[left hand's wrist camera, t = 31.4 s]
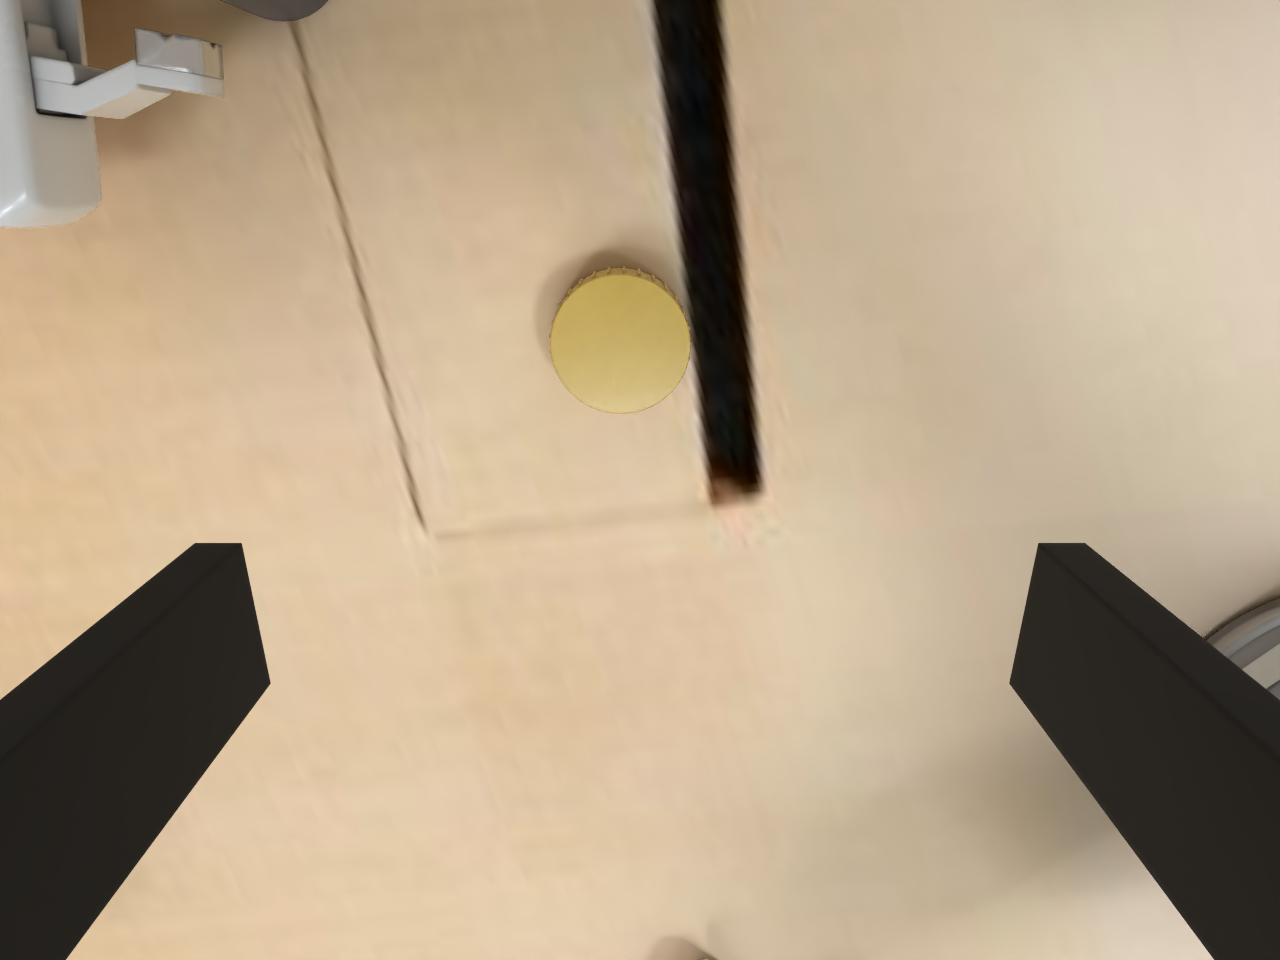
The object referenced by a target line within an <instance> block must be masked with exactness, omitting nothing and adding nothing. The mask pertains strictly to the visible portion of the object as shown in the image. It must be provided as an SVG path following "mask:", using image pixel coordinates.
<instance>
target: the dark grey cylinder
mask: <svg viewBox="0 0 1280 960" xmlns="http://www.w3.org/2000/svg"><path fill="white" fill-rule="evenodd" d="M221 1H224V2H226V3H228V4H231V5H233V6H235V7H238V8H240V9H243V10H245V11H247V12H250V13H252V14H254V15H257V16H260V17H262V18H265V19H269V20H274V21H293V20H297V19H301V18H304V17H306V16H309V15H311V14H312V13H314V12H316V11H317V10H318V9H320V8H321V7H322V6H323V5H324V4H325V3H326V2H327V1H328V0H221Z"/></svg>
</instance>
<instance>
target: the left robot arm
mask: <svg viewBox="0 0 1280 960" xmlns="http://www.w3.org/2000/svg"><path fill="white" fill-rule="evenodd" d="M270 684H271V683H270V678H269V673H268V669H267V664H266V659H265V654H264V649H263V644H262V640H261V635H260V630H259V625H258V620H257V615H256V611H255V606H254V601H253V596H252V591H251V586H250V582H249V577H248V572H247V567H246V562H245V557H244V553H243V548H242V543H195V544H193V545H192V546H191V547H190V548H188V549H187V550H186V551H185V552H183V553H182V554H181V555H180V556H179V557H177V558H176V559H175V560H174V561H172V562H171V563H170V564H169V565H167V566H166V567H165V568H164V569H162V570H161V571H160V572H159V573H157V574H156V575H155V576H154V577H152V578H151V579H150V580H149V581H147V582H146V583H145V584H144V585H142V586H141V587H140V588H139V589H137V590H136V591H135V592H134V593H133V594H131V595H130V596H129V597H128V598H126V599H125V600H124V601H123V602H121V603H120V604H119V605H118V606H116V607H115V608H114V609H113V610H111V611H110V612H109V613H108V614H106V615H105V616H104V617H103V618H101V619H100V620H99V621H98V622H96V623H95V624H94V625H93V626H92V627H90V628H89V629H88V630H87V631H85V632H84V633H83V634H82V635H80V636H79V637H78V638H77V639H75V640H74V641H73V642H72V643H70V644H69V645H68V646H67V647H65V648H64V649H63V650H62V651H60V652H59V653H58V654H57V655H55V656H54V657H53V658H52V659H51V660H49V661H48V662H47V663H46V664H44V665H43V666H42V667H41V668H39V669H38V670H37V671H36V672H34V673H33V674H32V675H31V676H29V677H28V678H27V679H26V680H24V681H23V682H22V683H21V684H19V685H18V686H17V687H16V688H14V689H13V690H12V691H11V692H10V693H8V694H7V695H6V696H5V697H3V698H2V699H1V700H0V960H66V959H67V957H68V956H69V955H70V953H71V952H72V951H73V949H74V948H75V947H76V945H77V944H78V942H79V941H80V940H81V938H82V937H83V936H84V934H85V933H86V932H87V930H88V929H89V928H90V926H91V925H92V924H93V922H94V921H95V920H96V918H97V917H98V916H99V914H100V913H101V911H102V910H103V909H104V907H105V906H106V905H107V903H108V902H109V901H110V899H111V898H112V897H113V895H114V894H115V893H116V891H117V890H118V889H119V887H120V886H121V884H122V883H123V882H124V880H125V879H126V878H127V876H128V875H129V874H130V872H131V871H132V870H133V868H134V867H135V866H136V864H137V863H138V862H139V860H140V859H141V858H142V856H143V855H144V853H145V852H146V851H147V849H148V848H149V847H150V845H151V844H152V843H153V841H154V840H155V839H156V837H157V836H158V835H159V833H160V832H161V831H162V829H163V828H164V826H165V825H166V824H167V822H168V821H169V820H170V818H171V817H172V816H173V814H174V813H175V812H176V810H177V809H178V808H179V806H180V805H181V804H182V802H183V801H184V800H185V798H186V797H187V795H188V794H189V793H190V791H191V790H192V789H193V787H194V786H195V785H196V783H197V782H198V781H199V779H200V778H201V777H202V775H203V774H204V773H205V771H206V770H207V768H208V767H209V766H210V764H211V763H212V762H213V760H214V759H215V758H216V756H217V755H218V754H219V752H220V751H221V750H222V748H223V747H224V746H225V744H226V743H227V742H228V740H229V739H230V737H231V736H232V735H233V733H234V732H235V731H236V729H237V728H238V727H239V725H240V724H241V723H242V721H243V720H244V719H245V717H246V716H247V715H248V713H249V712H250V710H251V709H252V708H253V706H254V705H255V704H256V702H257V701H258V700H259V698H260V697H261V696H262V694H263V693H264V692H265V690H266V689H267V688H268V686H269V685H270ZM1009 684H1010V685H1011V686H1012V688H1013V689H1014V690H1015V692H1016V693H1017V694H1018V696H1019V697H1020V698H1021V700H1022V701H1023V702H1024V704H1025V705H1026V706H1027V708H1028V709H1029V710H1030V712H1031V713H1032V715H1033V716H1034V717H1035V719H1036V720H1037V721H1038V723H1039V724H1040V725H1041V727H1042V728H1043V729H1044V731H1045V732H1046V733H1047V735H1048V736H1049V737H1050V739H1051V740H1052V742H1053V743H1054V744H1055V746H1056V747H1057V748H1058V750H1059V751H1060V752H1061V754H1062V755H1063V756H1064V758H1065V759H1066V760H1067V762H1068V763H1069V764H1070V766H1071V767H1072V768H1073V770H1074V771H1075V773H1076V774H1077V775H1078V777H1079V778H1080V779H1081V781H1082V782H1083V783H1084V785H1085V786H1086V787H1087V789H1088V790H1089V791H1090V793H1091V794H1092V795H1093V797H1094V798H1095V800H1096V801H1097V802H1098V804H1099V805H1100V806H1101V808H1102V809H1103V810H1104V812H1105V813H1106V814H1107V816H1108V817H1109V818H1110V820H1111V821H1112V822H1113V824H1114V825H1115V826H1116V828H1117V829H1118V831H1119V832H1120V833H1121V835H1122V836H1123V837H1124V839H1125V840H1126V841H1127V843H1128V844H1129V845H1130V847H1131V848H1132V849H1133V851H1134V852H1135V853H1136V855H1137V856H1138V858H1139V859H1140V860H1141V862H1142V863H1143V864H1144V866H1145V867H1146V868H1147V870H1148V871H1149V872H1150V874H1151V875H1152V876H1153V878H1154V879H1155V880H1156V882H1157V883H1158V884H1159V886H1160V887H1161V889H1162V890H1163V891H1164V893H1165V894H1166V895H1167V897H1168V898H1169V899H1170V901H1171V902H1172V903H1173V905H1174V906H1175V907H1176V909H1177V910H1178V911H1179V913H1180V914H1181V916H1182V917H1183V918H1184V920H1185V921H1186V922H1187V924H1188V925H1189V926H1190V928H1191V929H1192V930H1193V932H1194V933H1195V934H1196V936H1197V937H1198V938H1199V940H1200V941H1201V942H1202V944H1203V945H1204V947H1205V948H1206V949H1207V951H1208V952H1209V953H1210V955H1211V956H1212V957H1213V959H1214V960H1280V598H1278V599H1275V600H1273V601H1270V602H1268V603H1266V604H1264V605H1261V606H1259V607H1257V608H1255V609H1253V610H1251V611H1249V612H1247V613H1245V614H1244V615H1242V616H1240V617H1239V618H1237V619H1235V620H1234V621H1232V622H1230V623H1229V624H1227V625H1226V626H1225V627H1223V628H1222V629H1220V630H1219V631H1218V632H1216V633H1215V634H1214V635H1212V636H1211V637H1210V638H1209V639H1208V640H1205V639H1203V638H1202V637H1201V636H1200V635H1198V634H1197V633H1196V632H1195V631H1193V630H1192V629H1191V628H1190V627H1188V626H1187V625H1186V624H1185V623H1184V622H1182V621H1181V620H1180V619H1179V618H1177V617H1176V616H1175V615H1174V614H1172V613H1171V612H1170V611H1169V610H1167V609H1166V608H1165V607H1164V606H1162V605H1161V604H1160V603H1159V602H1157V601H1156V600H1155V599H1154V598H1152V597H1151V596H1150V595H1149V594H1147V593H1146V592H1145V591H1144V590H1143V589H1141V588H1140V587H1139V586H1138V585H1136V584H1135V583H1134V582H1133V581H1131V580H1130V579H1129V578H1128V577H1126V576H1125V575H1124V574H1123V573H1121V572H1120V571H1119V570H1118V569H1116V568H1115V567H1114V566H1113V565H1111V564H1110V563H1109V562H1108V561H1106V560H1105V559H1104V558H1103V557H1101V556H1100V555H1099V554H1098V553H1097V552H1095V551H1094V550H1093V549H1092V548H1090V547H1089V546H1088V545H1087V544H1085V543H1038V548H1037V553H1036V557H1035V562H1034V567H1033V572H1032V577H1031V582H1030V586H1029V591H1028V596H1027V601H1026V606H1025V611H1024V615H1023V620H1022V625H1021V630H1020V635H1019V640H1018V644H1017V649H1016V654H1015V659H1014V664H1013V669H1012V673H1011V678H1010V683H1009Z"/></svg>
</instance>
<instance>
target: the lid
mask: <svg viewBox="0 0 1280 960" xmlns="http://www.w3.org/2000/svg"><path fill="white" fill-rule="evenodd" d="M558 309H559V311H558V313H556V314H555V316H554V318H553V320H552V323H553V326H552V330H551V333H550V335H549V338H550V353H551V356H552V361H553V364H554V368H555V370H556V372H557V374H558V377H559V378H560V380H561V381H562V383H563V385H564V386H565V387H566V388H567V389H568V391H569V392H570V393H571V394H572V395H574V396H575V397H576V398H577V399H578V400H580V401H581V402H583V403H584V404H586V405H588V406H590V407H592V408H595V409H597V410H600V411H604V412H608V413H616V414H626V413H634V412H638V411H642V410H645V409H647V408H650V407H652V406H654V405H655V404H657V403H659V402H660V401H662V400H663V399H664V398H666V397H667V396H668V395H669V394H670V393H671V392H672V391H673V390H674V388H675V387H676V386H677V385H678V383H679V382H680V380H681V378H682V377H683V375H684V373H685V370H686V368H687V364H688V361H689V359H690V357H689V355H690V345H692V342H691V340H690V333H689V330H691V329H690V326H689V323H688V321H687V320H686V319H685V315H686V313H685V310H684V308H683V306H680V304H679V302H678V298H677V296H676V294H675V293H674V294H673V293H672V292H671V291H670V290H669V289H668V287H667V284H666V283H665V282H664V283H662V282H661V281H659V280H658V279H656V278H655V276H654V275H653V274H652V275H649V274H647V273H645V272H642V271H640V269H639V268H638V269H637V270H635V269H629V268H625V266H623V268H612V269H611V268H610V267H608V268H607V269H606V270H602V271H599V272H596V271H594V272H593V274H592V275H590V276H588V277H586V278H585V279H583V278H581V279H580V281H579V283H578V284H577V285H576V286H575V287H574V288H573V289H572V288H570V289H569V291H568V293H567V296H566V298H565V299H564V300H562V301H561V302H560V304H559V306H558Z"/></svg>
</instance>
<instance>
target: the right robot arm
mask: <svg viewBox="0 0 1280 960" xmlns="http://www.w3.org/2000/svg"><path fill="white" fill-rule="evenodd" d="M134 29H135V45H136V59H133V60H131V61H129V62H127V63H124V64H122V65H120V66H118V67H116V68H114V69H111V70H106V69H101V68H96V67H91V66H88V61H87V52H86V42H85V33H84V24H83V15H82V6H81V0H0V227H6V228H45V227H56V226H64V225H69V224H73V223H75V222H77V221H79V220H80V219H82V218H83V217H84V216H86V215H87V214H89V213H90V212H91V211H93V210H94V209H95V208H96V207H98V206H99V205H100V203H101V200H102V190H101V179H100V171H99V162H98V153H97V143H96V134H95V125H94V116H95V117H105V118H115V119H125V118H127V117H129V116H131V115H133V114H134V113H136V112H138V111H140V110H142V109H144V108H146V107H148V106H150V105H152V104H154V103H156V102H158V101H160V100H162V99H163V98H165V97H167V96H169V95H171V94H172V90H176V91H182V92H189V93H195V94H201V95H208V96H214V97H224V78H223V60H222V46H221V45H218V44H214V43H209V41H205V40H202V39H197V38H192V37H187V36H182V35H176V34H174V35H172V36H171V35H168V34H164V33H161V32H157V31H151V30H144V29H138V28H134Z"/></svg>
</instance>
